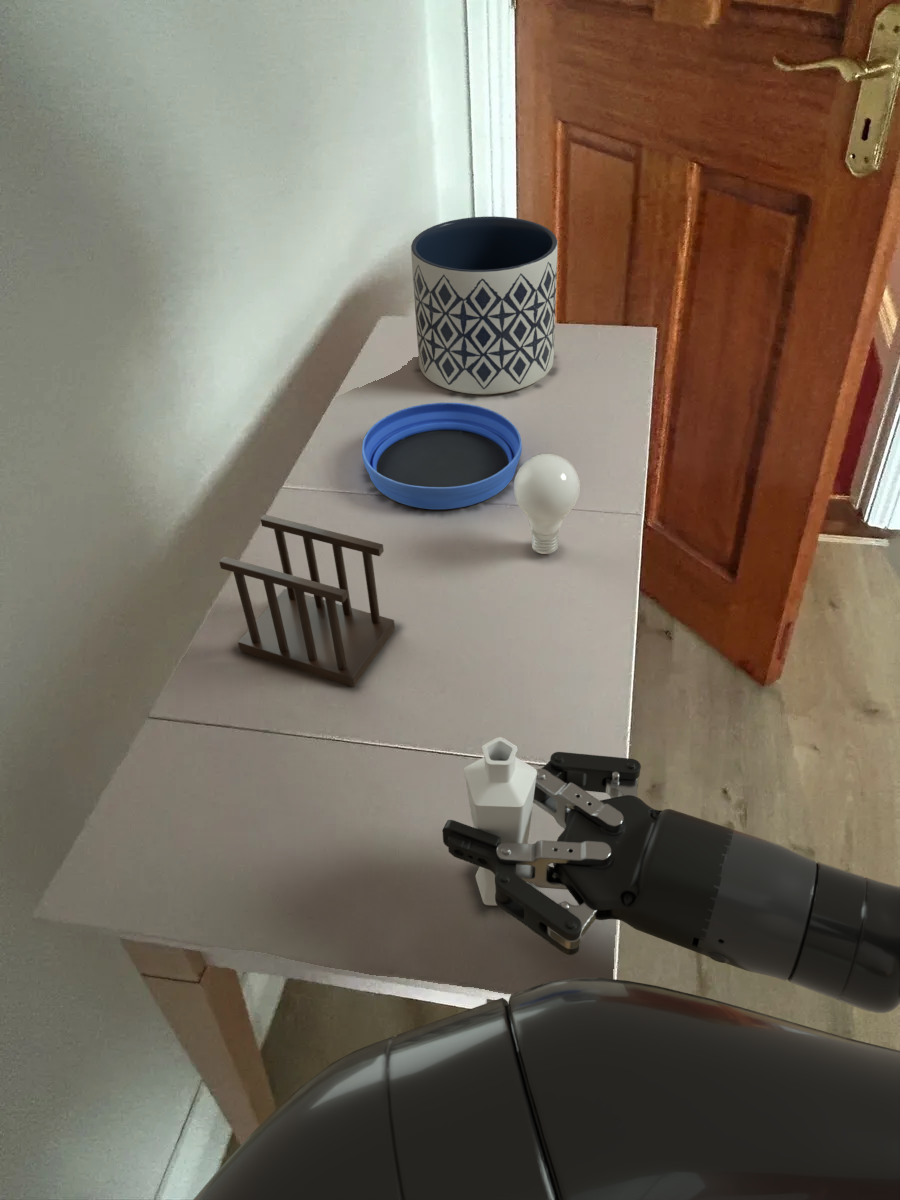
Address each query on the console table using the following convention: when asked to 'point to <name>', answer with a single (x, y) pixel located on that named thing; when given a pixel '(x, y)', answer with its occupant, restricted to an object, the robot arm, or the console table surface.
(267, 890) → the console table surface
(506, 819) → the perfume bottle
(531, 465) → the lightbulb
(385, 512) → the console table surface
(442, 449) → the bowl
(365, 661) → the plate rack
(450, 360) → the planter
